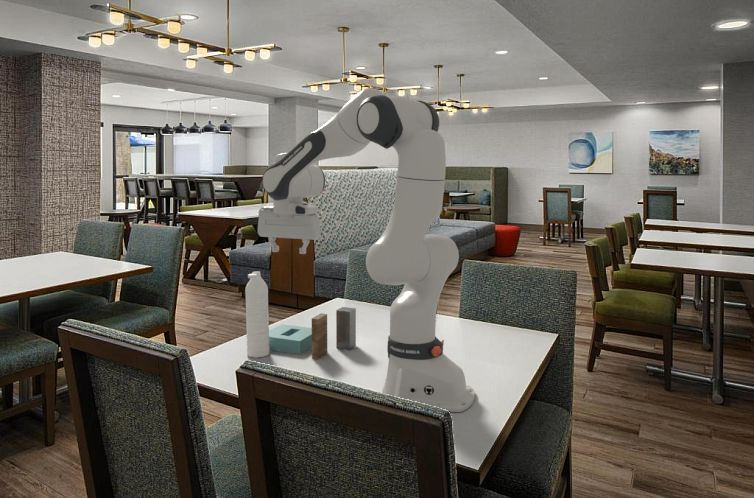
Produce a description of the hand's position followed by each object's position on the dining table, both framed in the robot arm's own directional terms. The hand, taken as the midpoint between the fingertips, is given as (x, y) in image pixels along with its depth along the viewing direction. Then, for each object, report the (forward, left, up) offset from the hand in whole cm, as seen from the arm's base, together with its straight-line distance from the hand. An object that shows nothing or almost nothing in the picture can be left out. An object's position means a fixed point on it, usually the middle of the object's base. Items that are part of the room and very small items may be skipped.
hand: (289, 252), depth 164 cm
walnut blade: (-13, +6, -29) cm, 32 cm away
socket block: (0, 0, -29) cm, 29 cm away
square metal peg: (-17, -4, -29) cm, 34 cm away
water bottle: (+4, +12, -29) cm, 32 cm away
